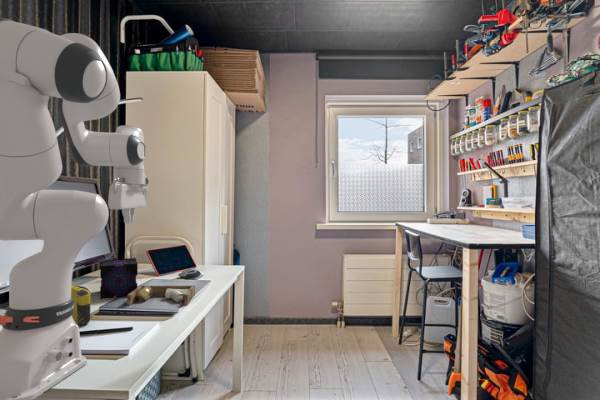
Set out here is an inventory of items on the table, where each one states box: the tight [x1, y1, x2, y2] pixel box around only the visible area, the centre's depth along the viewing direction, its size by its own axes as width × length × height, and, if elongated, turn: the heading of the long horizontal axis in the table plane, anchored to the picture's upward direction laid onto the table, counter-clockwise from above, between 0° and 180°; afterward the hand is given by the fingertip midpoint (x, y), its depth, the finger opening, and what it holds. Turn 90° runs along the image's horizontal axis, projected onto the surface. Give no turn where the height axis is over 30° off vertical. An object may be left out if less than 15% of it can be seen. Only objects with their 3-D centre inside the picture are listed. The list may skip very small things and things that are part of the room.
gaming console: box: [71, 284, 92, 326], centre depth 107 cm, size 26×4×10 cm, turn 57°
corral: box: [126, 285, 196, 307], centre depth 125 cm, size 12×20×4 cm, turn 95°
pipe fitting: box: [164, 288, 189, 303], centre depth 126 cm, size 8×4×7 cm
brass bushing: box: [136, 287, 153, 302], centre depth 126 cm, size 4×4×5 cm
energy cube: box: [99, 257, 139, 300], centre depth 133 cm, size 12×12×12 cm
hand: (128, 222), depth 110 cm, fingers closed
